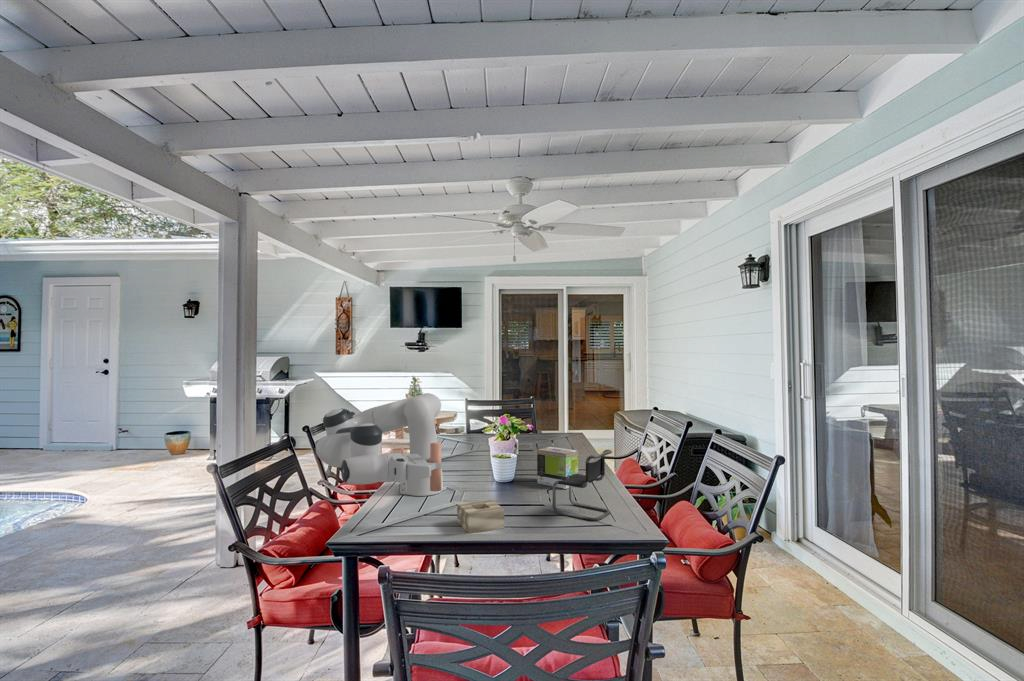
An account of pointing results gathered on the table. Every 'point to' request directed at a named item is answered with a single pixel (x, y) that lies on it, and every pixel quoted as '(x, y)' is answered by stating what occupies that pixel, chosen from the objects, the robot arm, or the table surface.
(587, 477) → the chair
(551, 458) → the tea box
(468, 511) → the socket block
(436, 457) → the dowel
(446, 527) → the table surface
